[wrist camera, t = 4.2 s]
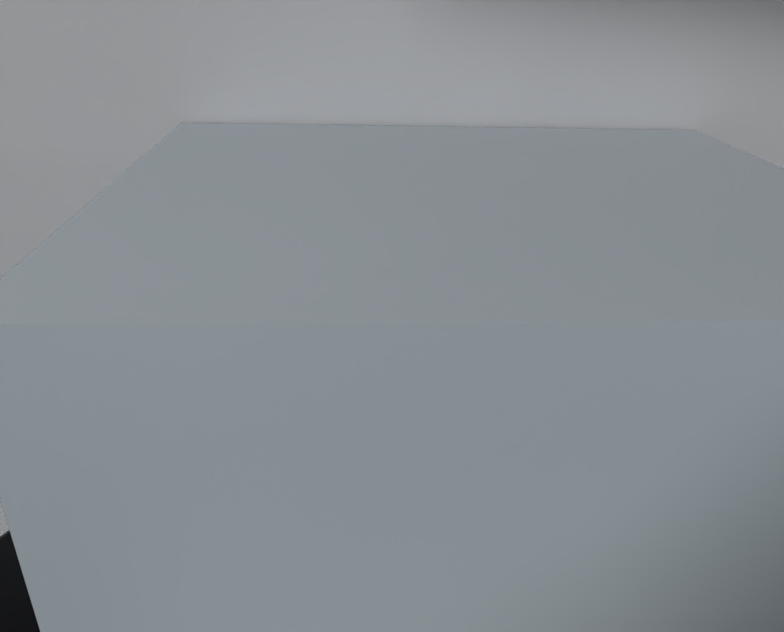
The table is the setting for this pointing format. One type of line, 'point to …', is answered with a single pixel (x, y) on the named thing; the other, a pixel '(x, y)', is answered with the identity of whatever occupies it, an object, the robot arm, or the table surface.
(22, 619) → the robot arm
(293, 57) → the table surface
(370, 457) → the grey brick
